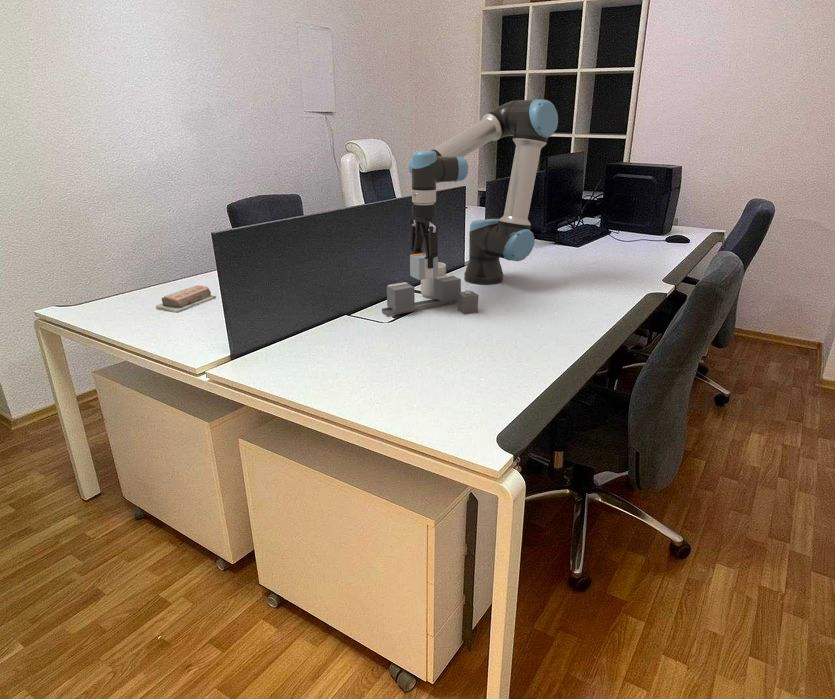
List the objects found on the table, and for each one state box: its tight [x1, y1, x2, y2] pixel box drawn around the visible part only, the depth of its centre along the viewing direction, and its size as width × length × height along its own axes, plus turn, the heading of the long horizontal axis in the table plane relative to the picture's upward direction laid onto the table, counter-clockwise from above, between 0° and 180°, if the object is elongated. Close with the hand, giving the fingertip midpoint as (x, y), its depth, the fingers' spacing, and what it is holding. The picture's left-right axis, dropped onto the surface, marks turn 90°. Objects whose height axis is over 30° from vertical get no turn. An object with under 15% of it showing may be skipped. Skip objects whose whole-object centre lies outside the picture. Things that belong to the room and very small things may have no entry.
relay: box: [457, 289, 479, 315], centre depth 183 cm, size 5×5×7 cm
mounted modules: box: [386, 274, 462, 311], centre depth 187 cm, size 25×6×7 cm, turn 120°
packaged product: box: [155, 285, 217, 314], centre depth 195 cm, size 18×5×10 cm
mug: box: [420, 261, 447, 299], centre depth 200 cm, size 12×9×11 cm
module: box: [409, 252, 439, 281], centre depth 183 cm, size 7×6×7 cm
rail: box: [381, 298, 458, 317], centre depth 188 cm, size 30×4×2 cm, turn 120°
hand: (423, 275), depth 184 cm, fingers closed on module, 6 cm apart
